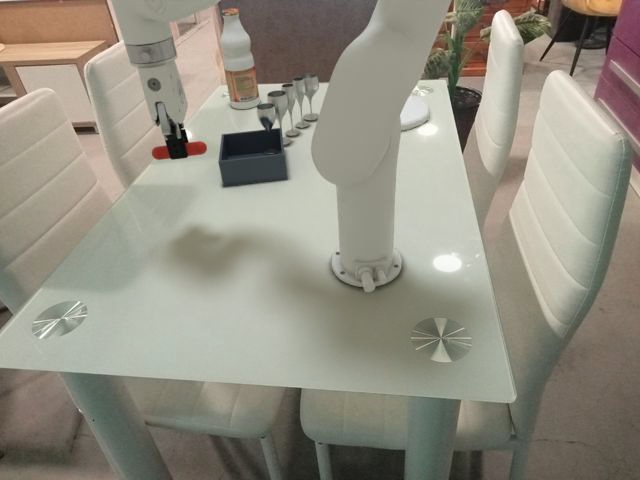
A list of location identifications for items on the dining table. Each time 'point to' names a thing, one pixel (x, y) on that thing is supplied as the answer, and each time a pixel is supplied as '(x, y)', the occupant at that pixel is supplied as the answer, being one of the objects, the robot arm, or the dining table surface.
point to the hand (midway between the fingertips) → (180, 153)
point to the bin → (252, 157)
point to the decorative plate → (414, 113)
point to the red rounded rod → (192, 147)
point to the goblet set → (288, 105)
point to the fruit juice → (238, 62)
